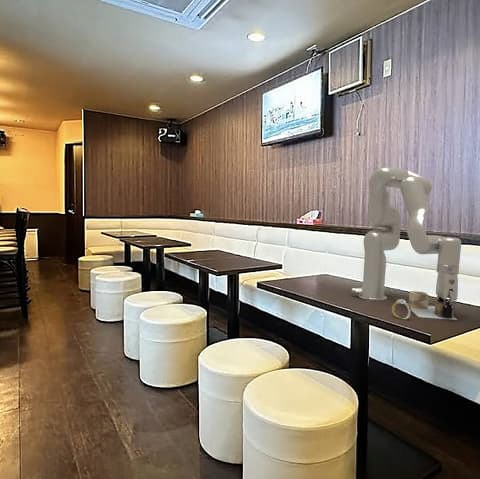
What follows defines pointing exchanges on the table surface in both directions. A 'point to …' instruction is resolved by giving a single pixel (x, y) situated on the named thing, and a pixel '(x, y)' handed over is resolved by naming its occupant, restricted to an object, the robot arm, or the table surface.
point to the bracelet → (401, 303)
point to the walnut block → (440, 309)
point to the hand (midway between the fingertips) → (443, 314)
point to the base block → (418, 300)
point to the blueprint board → (428, 313)
